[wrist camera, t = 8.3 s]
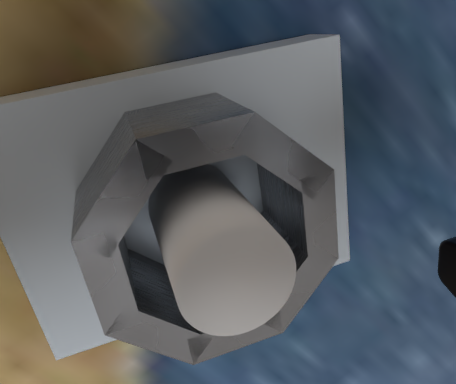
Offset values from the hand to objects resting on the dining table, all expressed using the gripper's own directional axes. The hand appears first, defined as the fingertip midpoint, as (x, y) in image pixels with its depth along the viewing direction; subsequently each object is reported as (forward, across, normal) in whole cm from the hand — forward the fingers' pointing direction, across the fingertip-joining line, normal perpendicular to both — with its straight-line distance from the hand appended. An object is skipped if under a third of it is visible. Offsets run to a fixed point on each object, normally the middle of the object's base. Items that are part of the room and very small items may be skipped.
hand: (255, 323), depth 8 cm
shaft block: (+8, 0, 0) cm, 9 cm away
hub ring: (+6, 0, 0) cm, 7 cm away
